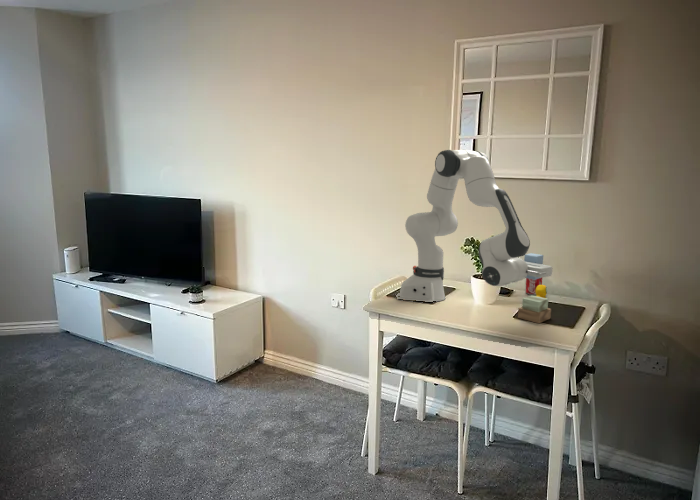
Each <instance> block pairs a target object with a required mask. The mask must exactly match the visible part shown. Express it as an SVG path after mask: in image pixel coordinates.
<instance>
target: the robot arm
mask: <svg viewBox="0 0 700 500" xmlns="http://www.w3.org/2000/svg"><path fill="white" fill-rule="evenodd" d="M434 160H435V161H434V167H435V169H434V171H433V173H432V177H431V179H430V183H429V187H428V190H427V194H426V199H427V202H428V203H429V204H430V205H431V206H432V209H431V211H427V212H417V213H413V214H411V215H409V216H408V217H407V218H406V220H405V224H404V225H405V230H406V234H407V235H409V236H410V237H411V238H412V239H413V241H414V242H415V245H416V247H417V255H418V256H417V260H418V261H417V265H413V266H412V270H413V272H412V275H410V276H409V277H408V278H406V279H404V281H403V282H402V283H401V285H400V290H399V291H400V293H398V294H397V295H396V294H395V295H396V297H397V298H398V299H405V300H416V301H425V302H433V301H436V302H441V301H443V300H445V299H446V295H445V289H444V279H445V278H444V277H445V269H444V251H443V248H442V247H440V245H438V244H437V243H436V237H443V236H444V237H445V236H447V235H451V234H454V233H455V232H456V230H457V229H458V225H459V222H458V217H457V215H456V214H455V213H454V212H453V201H454V196H455V193H456V190H457V186H458V183H459V179H463V181H464V185H465V189H466V195H467V197H468V199H469V201H470V202H471V203H472V204H473V205H475V206H478V207H484V208H496V209H497V211H498V212H499V214H500V215H499V216H500V217H501V220H502V222H503V224H504V226H505V230H504V231H503V232H502V233H499V234H496V235H493V236H491V237H488V238H485V239H482V240H481V242H480V244H479V246H478V256H479V257H478V258H479V260H480V262H481V264H482V266H483V267H482V271H481V275H482V278H483V280H484V282H485V283H486V284H487V285H489V286H493V287H502V286H503V287H504V286H507V285H509V284H513V283H518V282H520V281H524V280H526V276H527V275H529V276H534V277H542V278H547V277H552V275H553V266H552V265H549V264H547V265H546V264H544V263H543V264H537V263H531V262H526V261H524V259H523V258H522V257H523V256H524V257H525V255H526V254H528V251H529V249H530V245H531V241H530V240H531V239H530V238H529V235H528V233H527V232H526V230H525V229H524V227H523V225H522V223H521V221H520V219H519V217H518V213H517V212H516V209H515V207H514V205H513V202H512V200H511V199H510V196H509V195H508V193H507V192H506V190H505V189H503V188H499V186H498V184H497V182H496V178H495V174H494V172H493V168H492V166H491V164H490V162H489V161H490V160H489V158H488V156H487V154H486V153H484V152H481V151H478V150H475V151H474V150H468V149H445V150H442V151H439V152H438V154H437V156H436V157H435V159H434ZM398 296H400V297H398ZM396 297H395V298H396ZM398 299H397V300H398ZM433 303H434V302H433Z"/></svg>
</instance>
